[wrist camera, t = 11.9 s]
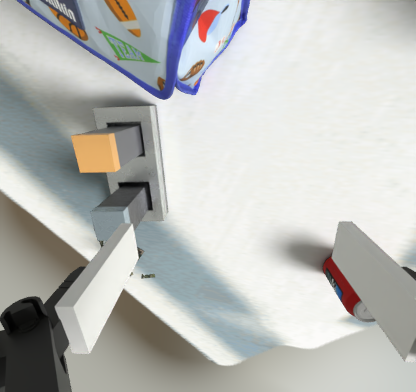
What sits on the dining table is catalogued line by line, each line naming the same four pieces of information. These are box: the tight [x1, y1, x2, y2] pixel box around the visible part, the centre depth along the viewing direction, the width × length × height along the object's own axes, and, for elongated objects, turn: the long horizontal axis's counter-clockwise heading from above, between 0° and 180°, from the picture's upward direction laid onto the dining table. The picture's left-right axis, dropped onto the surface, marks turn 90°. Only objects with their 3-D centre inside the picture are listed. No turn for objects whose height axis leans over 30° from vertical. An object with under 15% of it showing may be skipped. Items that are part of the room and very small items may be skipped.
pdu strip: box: [90, 105, 168, 241], centre depth 37 cm, size 9×24×15 cm, turn 2°
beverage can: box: [323, 256, 376, 322], centre depth 44 cm, size 7×7×12 cm
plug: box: [71, 124, 145, 173], centre depth 34 cm, size 4×4×14 cm
